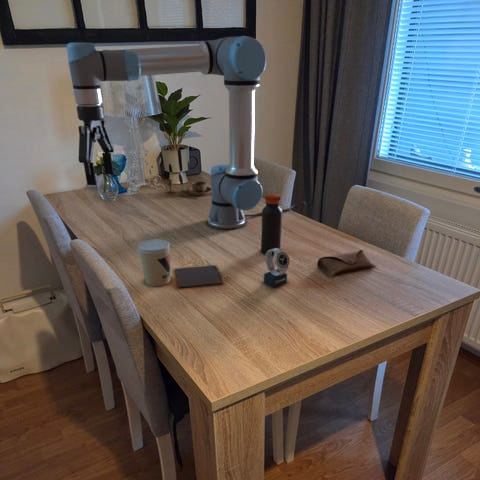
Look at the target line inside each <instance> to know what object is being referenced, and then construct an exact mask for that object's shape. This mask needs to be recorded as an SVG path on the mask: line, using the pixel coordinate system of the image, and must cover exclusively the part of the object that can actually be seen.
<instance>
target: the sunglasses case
mask: <svg viewBox="0 0 480 480" xmlns="http://www.w3.org/2000/svg"><path fill="white" fill-rule="evenodd" d="M316 264H317V265H316V266H317V268H318V270H320V271H321V272H322V273H323V274H326V275H327V276H329V277H334V276H337V275H341V274H345V273H350V272H357V271H361V270H366V269H370V268H374V267H375V265H374V264H372V262H371V261H370V260H369V258H368V256H367V255H366V254H365V253H364V251H363V249H360V250H359V249H358V250H355V251H351V252H345V253H340V254H334V255H328V256H323V257H320V258H318V259H317V263H316Z"/></svg>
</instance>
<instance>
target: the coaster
mask: <svg viewBox="0 0 480 480" xmlns="http://www.w3.org/2000/svg"><path fill="white" fill-rule="evenodd" d="M175 275H176V279H177V284H178V288H179V289H185V288H186V289H187V288H196V287H197V288H198V287H205V286H207V287H208V286H218V285H222V281H221V278H220V275H219V273H218V270H217V267H216V265H214V264H213V265H203V266H191V267H190V266H189V267H180V268H175Z"/></svg>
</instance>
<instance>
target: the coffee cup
mask: <svg viewBox="0 0 480 480" xmlns="http://www.w3.org/2000/svg"><path fill="white" fill-rule="evenodd" d="M137 250H138V252H139V257H140V261H141V267H142V272H143V277H144V281H145V283H146V284H147V286H151V287H161V286H165V285H167V284H169V283H170V282H171V245H170V243H169V242H168V240H165V239H160V238H152V239H146V240H144V241H141V242H140V243H139V245H138V249H137Z"/></svg>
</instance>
